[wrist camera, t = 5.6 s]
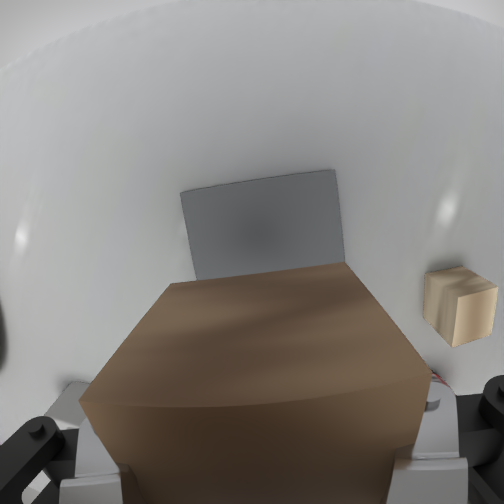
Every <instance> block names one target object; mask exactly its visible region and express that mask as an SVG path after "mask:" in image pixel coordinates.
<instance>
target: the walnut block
mask: <svg viewBox="0 0 504 504" xmlns="http://www.w3.org/2000/svg"><path fill="white" fill-rule="evenodd" d="M432 373H433V372H432V371H431V370H430V368H429V367H428V366H427V364H426V363H425V362H424V360H423V359H422V358H421V356H420V355H419V354H418V352H417V351H416V350H415V348H414V347H413V346H412V344H411V343H410V342H409V340H408V339H407V338H406V337H405V335H404V334H403V333H402V331H401V330H400V329H399V328H398V326H397V325H396V324H395V323H394V321H393V320H392V319H391V317H390V316H389V315H388V314H387V312H386V311H385V310H384V309H383V307H382V306H381V305H380V304H379V303H378V301H377V300H376V299H375V298H374V296H373V295H372V294H371V293H370V292H369V290H368V289H367V288H366V287H365V285H364V284H363V283H362V282H361V281H360V279H359V278H358V277H357V276H356V275H355V274H354V272H353V271H352V270H351V269H350V268H349V266H348V265H347V264H346V263H345V262H339V263H332V264H324V265H317V266H310V267H302V268H295V269H287V270H280V271H272V272H264V273H256V274H248V275H240V276H232V277H224V278H215V279H207V280H198V281H189V282H181V283H172V284H170V285H169V286H168V288H167V289H166V290H165V291H164V292H163V294H162V295H161V296H160V297H159V298H158V300H157V301H156V302H155V303H154V304H153V306H152V307H151V308H150V309H149V311H148V312H147V313H146V314H145V316H144V317H143V318H142V319H141V320H140V322H139V323H138V324H137V325H136V327H135V328H134V329H133V330H132V332H131V333H130V334H129V335H128V337H127V338H126V339H125V340H124V342H123V343H122V344H121V345H120V347H119V348H118V349H117V350H116V352H115V353H114V354H113V356H112V357H111V358H110V359H109V361H108V362H107V363H106V365H105V366H104V367H103V368H102V370H101V371H100V372H99V374H98V375H97V376H96V378H95V379H94V380H93V381H92V383H91V384H90V385H89V387H88V388H87V389H86V391H85V392H84V393H83V395H82V396H81V397H80V399H79V400H78V401H79V403H80V405H81V407H82V409H83V411H84V413H85V415H86V416H87V418H88V420H89V422H90V424H91V425H92V427H93V429H94V430H95V432H96V434H97V436H98V437H99V439H100V441H101V442H102V444H103V445H104V447H105V449H106V450H107V452H108V453H109V455H110V456H111V458H112V459H113V461H114V462H117V463H123V464H128V465H129V466H130V468H131V469H132V471H133V472H134V474H135V475H136V477H137V481H138V485H139V488H140V491H141V493H142V495H143V497H144V499H145V500H146V501H147V503H148V504H379V503H380V500H381V498H383V495H384V492H385V489H386V486H387V483H388V479H389V475H390V471H391V466H392V461H393V458H394V454H395V450H396V448H399V447H403V446H406V445H410V444H413V443H416V440H417V436H418V433H419V429H420V425H421V422H422V418H423V414H424V410H425V406H426V401H427V397H428V392H429V388H430V383H431V378H432Z"/></svg>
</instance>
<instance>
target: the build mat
mask: <svg viewBox="0 0 504 504" xmlns="http://www.w3.org/2000/svg"><path fill="white" fill-rule="evenodd" d="M180 196H181V202H182V207H183V213H184V218H185V224H186V229H187V234H188V239H189V244H190V249H191V254H192V259H193V264H194V269H195V274H196V278H197V281H198V280H207V279H215V278H224V277H232V276H240V275H248V274H256V273H264V272H272V271H280V270H287V269H295V268H302V267H310V266H317V265H324V264H332V263H339V262H345V257H344V245H343V234H342V224H341V214H340V205H339V197H338V188H337V181H336V173H335V170H326V171H318V172H309V173H301V174H293V175H286V176H278V177H271V178H264V179H258V180H251V181H245V182H238V183H232V184H226V185H220V186H214V187H209V188H203V189H198V190H192V191H187V192H182V193H180Z"/></svg>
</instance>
